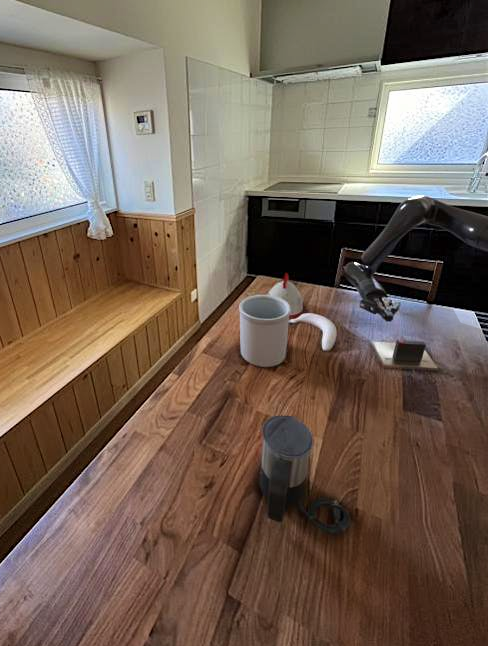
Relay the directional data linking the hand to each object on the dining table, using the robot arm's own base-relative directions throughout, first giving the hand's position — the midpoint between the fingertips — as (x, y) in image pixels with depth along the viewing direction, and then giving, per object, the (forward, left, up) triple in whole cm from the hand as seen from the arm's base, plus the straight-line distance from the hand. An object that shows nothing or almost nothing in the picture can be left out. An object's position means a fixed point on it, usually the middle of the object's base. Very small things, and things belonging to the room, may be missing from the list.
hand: (389, 319), depth 104 cm
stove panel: (-2, +9, -9) cm, 13 cm away
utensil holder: (+38, +9, -10) cm, 41 cm away
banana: (+21, -3, -10) cm, 24 cm away
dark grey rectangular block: (-2, +10, -7) cm, 13 cm away
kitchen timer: (+29, -19, -10) cm, 36 cm away
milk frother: (+32, +53, -10) cm, 63 cm away
